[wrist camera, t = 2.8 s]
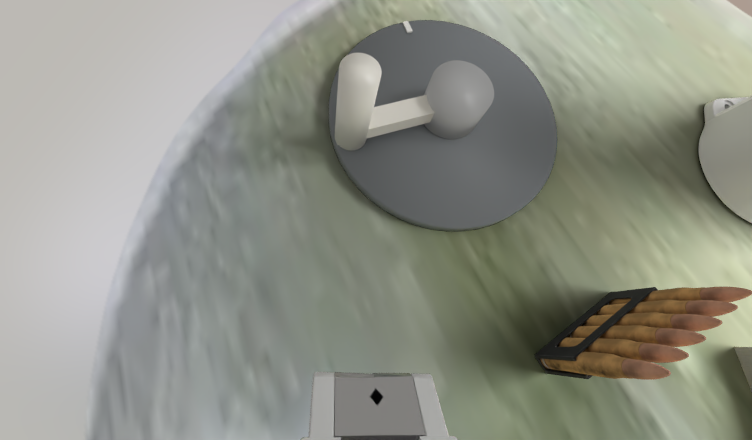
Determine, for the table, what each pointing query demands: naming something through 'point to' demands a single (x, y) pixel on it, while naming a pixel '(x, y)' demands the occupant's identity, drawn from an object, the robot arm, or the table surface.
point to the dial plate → (452, 156)
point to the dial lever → (409, 102)
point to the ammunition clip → (637, 332)
